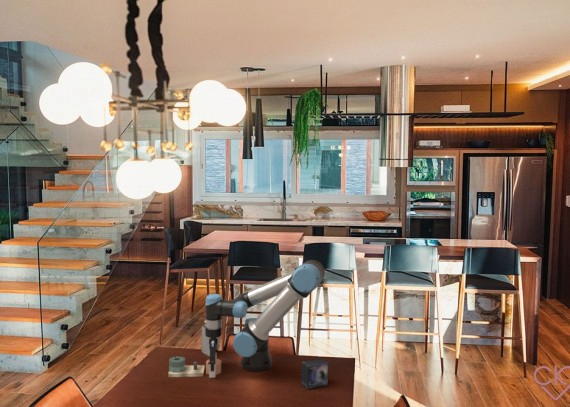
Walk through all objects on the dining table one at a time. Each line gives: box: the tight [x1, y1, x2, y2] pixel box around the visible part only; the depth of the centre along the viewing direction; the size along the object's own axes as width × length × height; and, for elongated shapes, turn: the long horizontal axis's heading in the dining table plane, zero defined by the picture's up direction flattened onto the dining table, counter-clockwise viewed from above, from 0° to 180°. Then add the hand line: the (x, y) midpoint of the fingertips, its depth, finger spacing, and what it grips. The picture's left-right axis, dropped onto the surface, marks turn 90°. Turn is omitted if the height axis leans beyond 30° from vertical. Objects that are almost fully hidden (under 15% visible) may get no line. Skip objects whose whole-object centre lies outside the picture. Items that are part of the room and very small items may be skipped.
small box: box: [300, 358, 329, 390], centre depth 232 cm, size 11×6×10 cm, turn 117°
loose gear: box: [205, 358, 222, 376], centre depth 246 cm, size 7×7×5 cm
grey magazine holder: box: [201, 325, 221, 357], centre depth 272 cm, size 16×8×19 cm, turn 177°
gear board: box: [167, 356, 206, 378], centre depth 245 cm, size 16×10×6 cm, turn 95°
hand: (213, 371), depth 247 cm, fingers open, 13 cm apart
